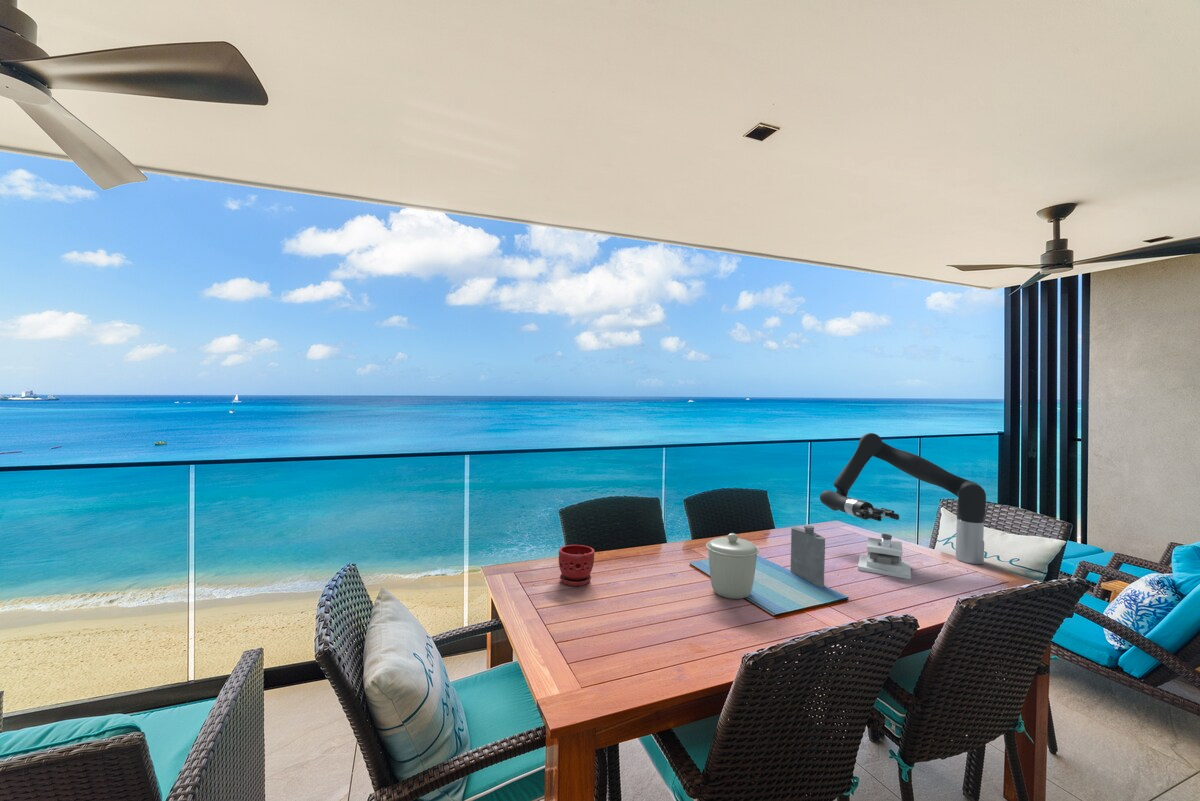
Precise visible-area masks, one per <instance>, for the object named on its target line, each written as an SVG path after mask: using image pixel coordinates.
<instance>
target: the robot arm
mask: <svg viewBox="0 0 1200 801" xmlns="http://www.w3.org/2000/svg"><path fill="white" fill-rule="evenodd" d="M872 457H873V458H877V459H879V460H881V461H884V462H886V463H888V464H890V465H891V466H893V467H894V468H896V469H898V470H899V471H902V472H903V473H904V474H908V475H909V476H911V477H913V478H915V479H917V480H920V481H922V482H924V483H927V484H931V485H934V486H936V487H940V488H941V489H944V490H946V491H947V492H949V493H951V494H953V495H954V496H956V497H957V498H958V499H957V500H958V503H957V512H956V532H955V535H956V536H955V537H956V538H955V559H956V560H957V561H959V562H963V563H965V564H974V565H984V563H985V541H984V536H985V535H984V533H985V532H984V531H985V530H984V529H985V517H986V510H987V509H986V508H987V493H986V491H985V489H984V488H983V487H982V486H981V485H980V484H979V483H977V482H974V481H971V480H969V479H966V478H963V477H961V476H958V475H957V474H956V475H955V474H954V473H951V472H949V471H947V470H946V469H944V468H942V467H941V466H939V465H937V464H935V463H933V462H932V461H930V460H928V459H926V458H923V457H922V456H920V455H917V454H916V453H915V454H914V453H911V452H908V451H905V450H901V449H899V448H896V447H893V446H892V445H890V444H888V443H886V442H884V441H883V440H882V438H881V436H879V435H878V434H876V433H873V432H870V433H869V432H868V433H865V434H863V435H862V436H861V437H860V439H859V440H858V446H857V448H856V450H855V452H854V454H853V456H852V457H851V458H850V459H849V461H848V462H847V463H846V465H845V466H844V467H843V468H842V470H841V472H840V473H838V476H837V477H836V479H835V480H834V482H833V486H834V488H835V489H836V492H835V491H834V490H823V491H822V492H821V493H820V495H819V500H820V502H821V503H822V504H823V505H824V506H826V507H827V508H829V509H830V510H832V511H835V512H836V511H837V512H838V511H840V512H843V513H845V514H849V515H850V516H852V517H855V518H858V519H861V520H865V521H866V520H873V521H877V522H881V521H882V519H885V518H889V519H893V520H896V521H898V520H900V514H899V513H896V512H895V510H893V509H889V508H888V509H887V508H884V507H882V508H878V507H874V505H873V504H872V503H871V502H869V501H867V500H866V501H865V500H862V499H858V498H854V497H849V496H848V494H849V491H850V489H851V488H852V486H853V485H854V483H855V482H856V480H857V479H858V477H859V475H860V474H861V472H862V471H863V469H864V468H865V466H866V464H867V463H868V462H869V461H870V460H871V458H872Z"/></svg>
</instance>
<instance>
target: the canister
mask: <svg viewBox="0 0 1200 801" xmlns="http://www.w3.org/2000/svg"><path fill="white" fill-rule="evenodd" d="M705 546H706V549H707V554H708V565H709V567H708V568H709V576H710V584H711V588H712V589H713V591H714V593H716V594H717V595H718V596H721V597H723V598H727V599H731V600H733V599H734V600H738V599H739V600H742V599H745V598H747V597H749V595H751V593H752V591H753V585H754V580H755V574H756V567H757V561H758V560H757V558H758V554H759V553H760V547H758V545H756V544H754V543H753V542H751V541H749V540H747V539H744V538H739V537H738V535H737V534H736V533H734V532H731V533H729V534H727V536H724V537H723V536H721V537H716V538H713V539H711V540H709V541H707V542H706V543H705Z"/></svg>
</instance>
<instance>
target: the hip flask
mask: <svg viewBox="0 0 1200 801" xmlns="http://www.w3.org/2000/svg"><path fill="white" fill-rule="evenodd" d="M790 532H791V533H790V536H791V537H790V568H789V569H790V573H791V574H794V575H795V576H798V577H801V578H802V579H805V580H806V581H808V582H809V583H811V582H812V583H811V584H813V585H814V584H815V586H816V587H822V588H823V587H824V586H825V566H826V565H825V560H826V559H825V558H826V556H825V555H826V537H824V536H822V535H820V534H818V533H816V532H815V526H813V525H810V524H809V525H807V524H805V525H803V528H800V527H797V526H793V527H791V531H790Z"/></svg>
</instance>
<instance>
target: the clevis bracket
mask: <svg viewBox="0 0 1200 801" xmlns="http://www.w3.org/2000/svg"><path fill="white" fill-rule="evenodd" d="M881 542H882V538H874V537H868V539H867V546H866V552H867V555H863V554H860V555H859V559H858V562H857V563H858V565H857V571H861V572H867V573H873V574H877V575H883V576H884V575H885V576H889V577H895V578H901V579H905V580H906V579H907V580H912V571H911V569H912V568H911V564H910V562H907V561H903V560H902V558H903V545H902V544H903V543H902V541H896V540H891V546H890V547H885V546H881Z"/></svg>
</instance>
